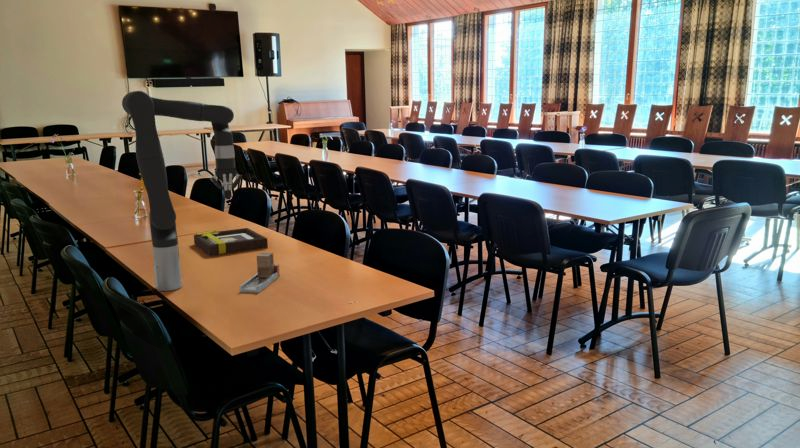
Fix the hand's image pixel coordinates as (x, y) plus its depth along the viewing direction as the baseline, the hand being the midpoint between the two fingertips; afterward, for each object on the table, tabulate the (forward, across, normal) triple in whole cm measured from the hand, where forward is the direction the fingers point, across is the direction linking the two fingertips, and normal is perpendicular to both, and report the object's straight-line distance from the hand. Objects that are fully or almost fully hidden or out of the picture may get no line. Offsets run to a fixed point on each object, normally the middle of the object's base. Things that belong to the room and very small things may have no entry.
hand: (227, 199), depth 245 cm
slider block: (+31, -10, +13) cm, 35 cm away
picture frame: (+33, -12, -50) cm, 61 cm away
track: (+32, -6, +18) cm, 37 cm away
